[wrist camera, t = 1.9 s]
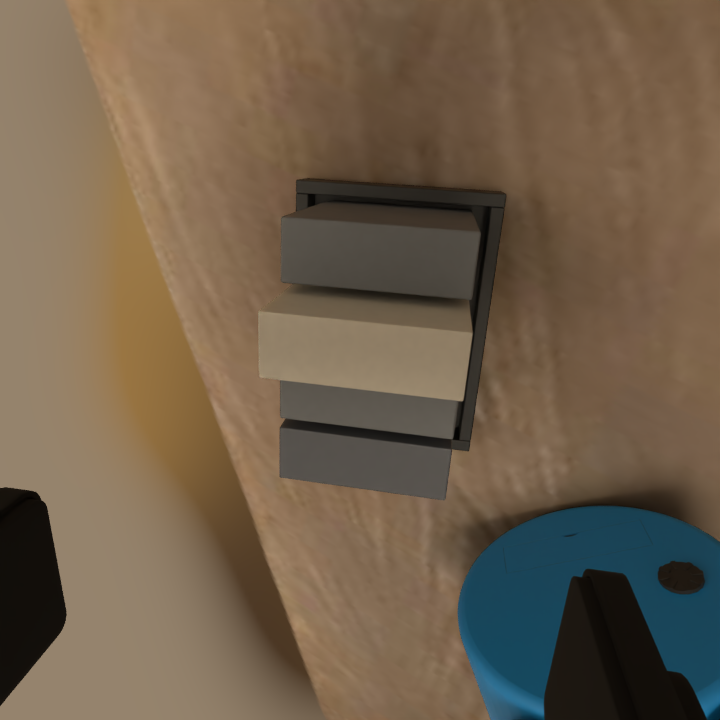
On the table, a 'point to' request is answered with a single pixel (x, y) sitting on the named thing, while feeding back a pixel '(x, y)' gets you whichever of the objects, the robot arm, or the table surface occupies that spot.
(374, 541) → the table surface
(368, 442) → the grey books
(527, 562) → the alarm clock
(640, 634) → the robot arm
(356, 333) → the white box
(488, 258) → the grey tray
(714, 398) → the table surface
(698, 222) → the table surface
